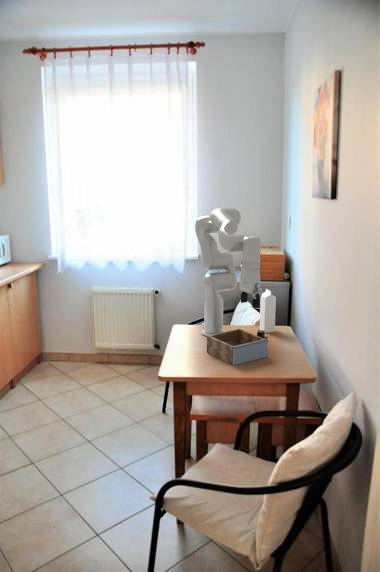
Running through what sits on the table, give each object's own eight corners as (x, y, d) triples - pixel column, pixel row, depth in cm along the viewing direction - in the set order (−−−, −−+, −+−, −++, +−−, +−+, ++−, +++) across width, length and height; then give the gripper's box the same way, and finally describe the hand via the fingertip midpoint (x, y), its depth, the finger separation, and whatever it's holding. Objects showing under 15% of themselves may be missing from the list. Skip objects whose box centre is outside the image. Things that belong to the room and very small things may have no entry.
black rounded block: (264, 344, 222) (264, 335, 221) (249, 343, 225) (250, 334, 224) (270, 337, 233) (270, 328, 232) (256, 335, 236) (256, 326, 235)
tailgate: (232, 364, 195) (232, 346, 194) (264, 355, 205) (265, 338, 204) (234, 365, 194) (234, 347, 193) (267, 356, 204) (267, 339, 203)
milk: (264, 333, 239) (265, 291, 234) (259, 329, 244) (260, 288, 240) (274, 332, 240) (276, 290, 235) (269, 328, 246) (271, 288, 241)
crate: (206, 352, 210) (206, 335, 208) (238, 344, 220) (239, 328, 219) (231, 365, 195) (232, 347, 194) (264, 356, 206) (265, 339, 204)
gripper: (233, 263, 202) (232, 301, 205) (254, 269, 186) (253, 310, 190) (247, 262, 205) (246, 299, 209) (270, 268, 190) (268, 308, 193)
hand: (249, 304), depth 199 cm, fingers open, 9 cm apart
